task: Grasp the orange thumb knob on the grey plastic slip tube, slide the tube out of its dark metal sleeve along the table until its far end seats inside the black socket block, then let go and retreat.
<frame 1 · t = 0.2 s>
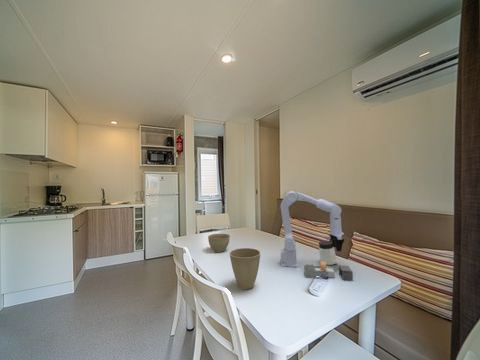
hand: (337, 249, 118), 11 cm above the table, fingers open, 7 cm apart
plant pot: (245, 286, 100), on the table
sleeve: (316, 275, 109), on the table
jar: (328, 262, 125), on the table, touching gripper
planter bowl: (219, 250, 154), on the table
socket: (347, 277, 106), on the table
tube: (320, 268, 109), point 4 cm above the table, slide at 0.0 cm
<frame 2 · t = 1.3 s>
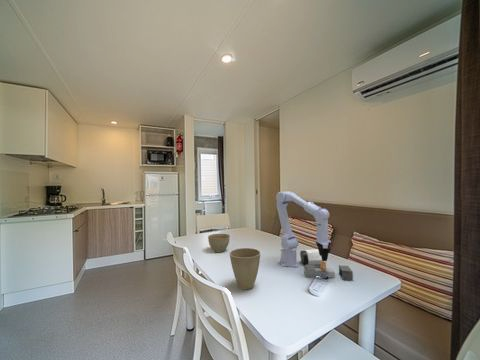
hand: (323, 258, 108), 9 cm above the table, fingers open, 7 cm apart
jar: (322, 256, 125), point 4 cm above the table
everything else where it was.
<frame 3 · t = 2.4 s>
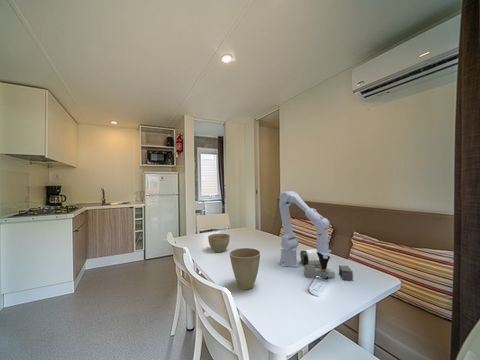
hand: (323, 267, 108), 4 cm above the table, fingers closed on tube, 3 cm apart
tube: (320, 268, 109), point 4 cm above the table, slide at 0.0 cm, touching gripper
everything else where it was.
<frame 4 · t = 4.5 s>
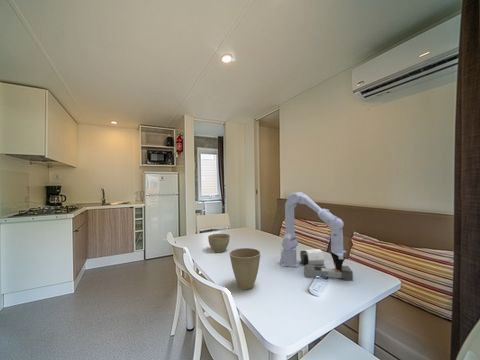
hand: (337, 268, 107), 4 cm above the table, fingers closed on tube, 3 cm apart
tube: (334, 269, 107), point 4 cm above the table, slide at 7.0 cm, touching gripper, socket
everything else where it was.
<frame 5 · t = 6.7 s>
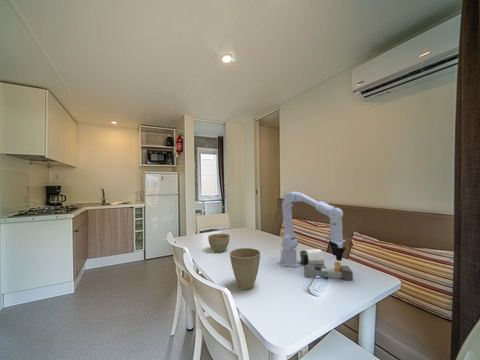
hand: (337, 257, 107), 10 cm above the table, fingers open, 7 cm apart
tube: (334, 269, 107), point 4 cm above the table, slide at 7.0 cm, touching socket
everything else where it was.
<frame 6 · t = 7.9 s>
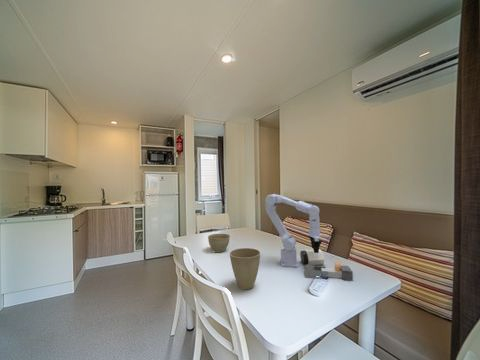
hand: (315, 250, 119), 10 cm above the table, fingers open, 7 cm apart
nothing on the table moved.
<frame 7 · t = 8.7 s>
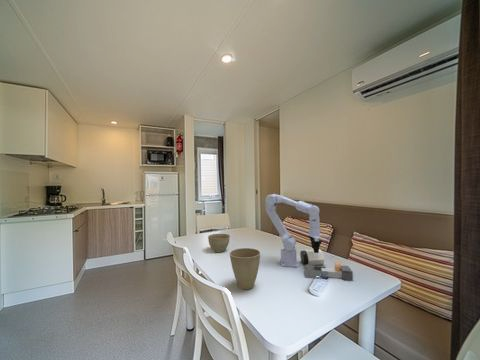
hand: (315, 250, 119), 10 cm above the table, fingers open, 7 cm apart
nothing on the table moved.
at the end: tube slide at 7.0 cm; the gripper is holding nothing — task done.
